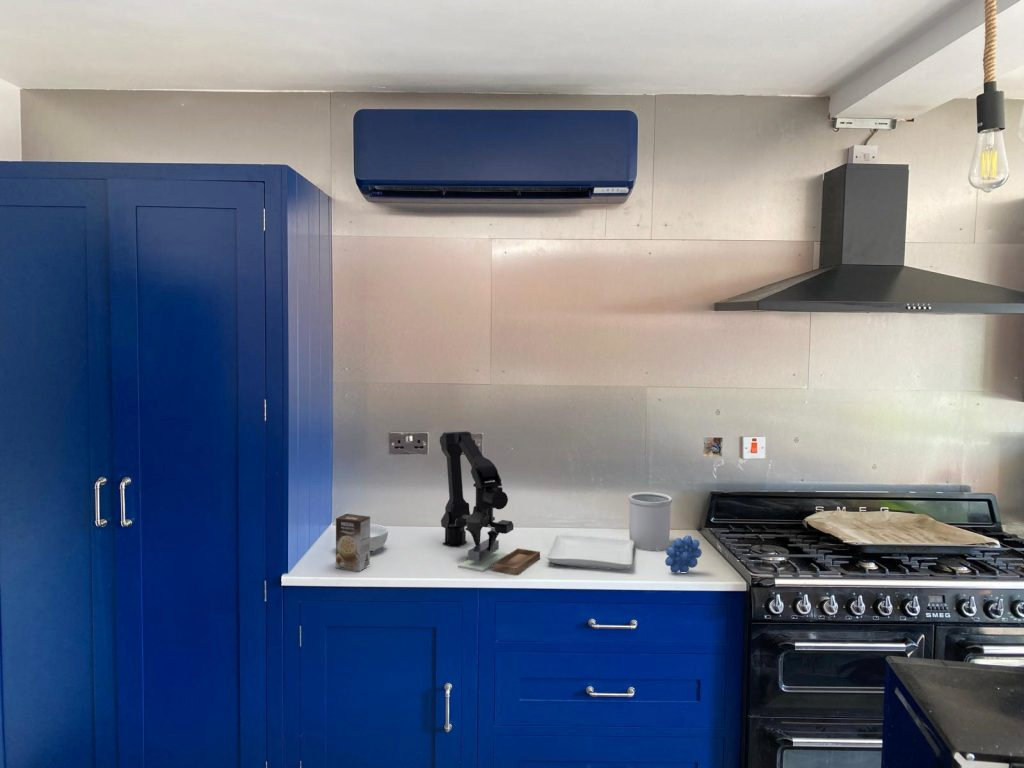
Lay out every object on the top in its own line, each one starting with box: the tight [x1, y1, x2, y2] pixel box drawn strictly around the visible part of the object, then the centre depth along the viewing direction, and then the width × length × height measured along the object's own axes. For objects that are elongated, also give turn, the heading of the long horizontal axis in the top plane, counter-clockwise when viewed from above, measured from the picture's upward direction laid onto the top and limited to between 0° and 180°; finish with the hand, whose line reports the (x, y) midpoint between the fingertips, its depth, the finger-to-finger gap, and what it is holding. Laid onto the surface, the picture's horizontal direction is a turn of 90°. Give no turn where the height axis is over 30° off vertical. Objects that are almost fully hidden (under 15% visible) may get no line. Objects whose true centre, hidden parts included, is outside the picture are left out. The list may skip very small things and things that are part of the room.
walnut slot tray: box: [492, 548, 541, 576], centre depth 213 cm, size 8×18×2 cm, turn 155°
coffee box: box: [335, 513, 371, 572], centre depth 209 cm, size 9×6×16 cm
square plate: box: [545, 534, 634, 570], centre depth 221 cm, size 27×27×4 cm
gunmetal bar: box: [467, 538, 500, 562], centre depth 216 cm, size 4×14×3 cm, turn 155°
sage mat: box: [457, 551, 509, 572], centre depth 216 cm, size 9×18×1 cm, turn 155°
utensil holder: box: [628, 491, 673, 552], centre depth 235 cm, size 15×15×18 cm
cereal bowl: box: [370, 523, 389, 552], centre depth 226 cm, size 17×17×7 cm
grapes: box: [664, 535, 702, 573], centre depth 207 cm, size 12×7×12 cm, turn 96°
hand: (483, 549), depth 216 cm, fingers closed on gunmetal bar, 4 cm apart
